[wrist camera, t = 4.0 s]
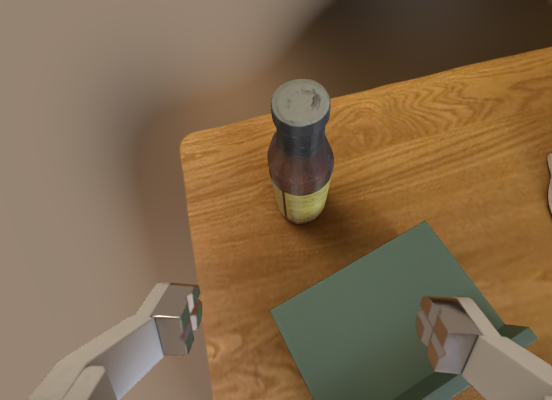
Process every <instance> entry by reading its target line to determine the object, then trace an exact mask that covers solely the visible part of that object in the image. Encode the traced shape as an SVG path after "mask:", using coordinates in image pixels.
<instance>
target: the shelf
mask: <svg viewBox="0 0 552 400" xmlns="http://www.w3.org/2000/svg"><path fill="white" fill-rule="evenodd" d="M424 296H442V297H469V298H471V299H472V300H473V301H474V302H475V303H476V305H477V306H478V307H479V308H480V310H481V311H482V312H483V314H484V315H485V316H486V317H487V319H488V320H489V321H490V323H491V324H492V325H493V326H494V328H495V329H496V330H497V332H498V333H499V334H500V335H501V337H507V338H509V339H510V340H512V341H513V342H515V343H517V344H518V345H520V346H521V347H523V348H525V347H527V346H528V345H530V344H531V343H533V342H534V341H535V340H537V339H538V338H537V337H536V336H535V334H534V333H533V332H532V331H531V329H530V328H529V327H524V326H514V325H505V323H504V322H503V321H502V320H501V318H500V317H499V316H498V314H497V313H496V312H495V310H494V309H493V308H492V306H491V305H490V304H489V303H488V301H487V300H486V299H485V297H484V296H483V295H482V293H481V292H480V291H479V290H478V288H477V287H476V286H475V284H474V283H473V282H472V280H471V279H470V278H469V277H468V275H467V274H466V273H465V271H464V270H463V269H462V267H461V266H460V265H459V263H458V262H457V261H456V260H455V258H454V257H453V256H452V254H451V253H450V252H449V250H448V249H447V248H446V247H445V245H444V244H443V243H442V241H441V240H440V239H439V237H438V236H437V235H436V234H435V232H434V231H433V230H432V228H431V227H430V226H429V224H428V223H427V222H426V221H423V222H421V223H420V224H418V225H416V226H415V227H413V228H411V229H409V230H408V231H406V232H404V233H403V234H401V235H399V236H397V237H396V238H394V239H392V240H390V241H389V242H387V243H385V244H384V245H382V246H380V247H378V248H377V249H375V250H373V251H371V252H370V253H368V254H366V255H365V256H363V257H361V258H359V259H358V260H356V261H354V262H352V263H351V264H349V265H347V266H346V267H344V268H342V269H340V270H339V271H337V272H335V273H334V274H332V275H330V276H328V277H327V278H325V279H323V280H321V281H320V282H318V283H316V284H315V285H313V286H311V287H309V288H308V289H306V290H304V291H302V292H301V293H299V294H297V295H296V296H294V297H292V298H290V299H289V300H287V301H285V302H283V303H282V304H280V305H278V306H277V307H275V308H273V309H271V310H270V313H271V315H272V317H273V319H274V321H275V323H276V325H277V327H278V329H279V331H280V333H281V335H282V337H283V339H284V341H285V343H286V345H287V347H288V349H289V351H290V353H291V355H292V357H293V359H294V361H295V363H296V365H297V367H298V369H299V371H300V373H301V375H302V377H303V379H304V381H305V383H306V385H307V387H308V389H309V391H310V393H311V395H312V397H313V400H449V399H451V398H452V397H454V396H455V395H457V394H458V393H460V392H461V391H462V390H464V389H465V388H467V387H468V386H470V385H471V384H469V383H468V382H467V381H466V380H465V379H464V378H463V377H462V376H461V375H462V374H453V373H442V372H434V370H433V367H432V365H431V363H430V361H429V359H428V357H427V355H426V351H427V348H428V347H427V346H425V345H424V344H423V343H422V342H421V341H420V339H419V337H418V334H417V331H416V316H417V313H418V312H420V311H421V310H422V307H421V305H420V302H421V299H422V298H423V297H424Z"/></svg>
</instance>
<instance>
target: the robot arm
mask: <svg viewBox="0 0 552 400" xmlns="http://www.w3.org/2000/svg"><path fill="white" fill-rule="evenodd" d="M547 161H548V166H549V170H550V173H551V179H550V184H549V188H548V202H549V207H550V210H551V213H552V153H550V154H549V155H548V157H547ZM199 295H200V289H199V286H198V285H192V284H178V283H161V282H159V283H157V284H156V285H155V286H154V287H153V289H152V290H151V292H150V293H149V295H148V296H147V298H146V299H145V301H144V303H143V304H142V305H141V307H140V309H139V310H138V312H137V313H136V315H135V316H129V317H128V318H126V319H125V320H123V321H122V322H120V323H118V324H117V325H115V326H114V327H112V328H110V329H109V330H107V331H106V332H104V333H102V334H101V335H99V336H98V337H96V338H95V339H93V340H91V341H90V342H88V343H87V344H85V345H83V346H82V347H80V348H79V349H77V350H75V351H74V352H72V353H71V354H69V355H67V356H66V357H64V358H63V359H61V360H60V361H58V362H57V363H56V364H55V365H54V367H53V368H52V369H51V370H50V372H49V373H48V374H47V375H46V376H45V378H44V379H43V380H42V381H41V383H40V384H39V385H38V386H37V388H36V389H35V390H34V391H33V392H32V394H31V395H30V396H29V397H28V399H27V400H119V399H120V398H121V397H122V396H123V395H124V394H126V393H127V392H128V391H129V390H130V389H131V388H132V387H133V386H134V385H135V384H136V383H137V382H138V381H139V380H140V379H141V378H142V377H143V376H144V375H145V374H146V373H147V372H148V371H149V370H150V369H151V368H153V367H154V366H155V365H156V364H157V363H158V362H159V361H160V360H161V359H162V358H163V357H164V356H163V355H172V356H188V354H189V351H190V349H191V346H192V343H193V341H194V335H193V332H194V331H196V330H197V329H198V328H199V325H200V322H201V317H202V302H201V301H200V300H199V299H198V297H199ZM420 305H421V307H422V310H421V311H420V312H418V313H417V316H416V331H417V334H418V337H419V339H420V341H421V342H422V343H423V344H424V345H425V346H427V347H428V348H427V351H426V355H427V357H428V359H429V361H430V363H431V365H432V367H433V370H434V372H442V373H453V374H462V375H461V376H462V377H463V378H464V379H465V380H466V381H467V382H468V383H469V384H471V385H472V386H473V387H474V388H475V389H476V390H477V391H478V392H479V393H480V394H481V395H482V396H483V397H484V398H485V399H486V400H552V366H551V365H549V364H548V363H546V362H545V361H543V360H542V359H540V358H539V357H537V356H535V355H534V354H532V353H531V352H529V351H528V350H526V349H524V348H523V347H521V346H520V345H518V344H517V343H515V342H513V341H512V340H510V339H509V338H507V337H501V335H500V334H499V333H498V332H497V330H496V329H495V328H494V326H493V325H492V324H491V323H490V321H489V320H488V319H487V317H486V316H485V315H484V314H483V312H482V311H481V310H480V308H479V307H478V306H477V305H476V303H475V302H474V301H473V300H472V299H471V298H469V297H442V296H424V297H423V298H422V299H421V302H420Z"/></svg>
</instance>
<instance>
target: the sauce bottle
mask: <svg viewBox="0 0 552 400" xmlns="http://www.w3.org/2000/svg"><path fill="white" fill-rule="evenodd" d="M271 113H272V119H273V122H274V124H275V126H276V128H277V132H276V133H275V134H274V136H273V138H272V141H271V144H270V146H269V149H268V165H269V172H270V177H271V182H272V186H273V190H274V195H275V199H276V203H277V207H278V209H279V211H280V212H281V214H282V215H283V216H284V217H285V218H286V219H287V220H288V221H289V222H292V223H295V224H307V223H310V222H312V221H313V220H315V219H316V218H317V217H318V216H319V215H320V214H321V212H322V210H323V208H324V206H325V202H326V198H327V193H328V189H329V185H330V180H331V176H332V171H333V165H334V157H333V152H332V149H331V147H330V145H329V143H328V140H327V138H326V136H325V125H326V124H327V122H328V120H329V117H330V98H329V95H328V93H327V91H326V90H325V88H324V87H322V86H321V85H320V84H319V83H317V82H315V81H313V80H308V79H297V80H292V81H289V82H286V83H284V84H282V85H281V86H280V87H278V89H277V90H276V91H275V92H274V94H273V97H272V100H271Z"/></svg>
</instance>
